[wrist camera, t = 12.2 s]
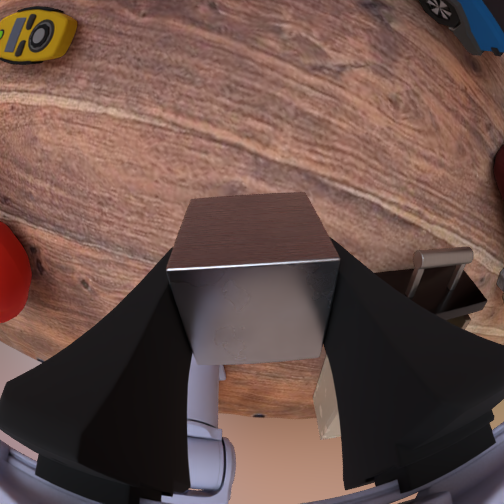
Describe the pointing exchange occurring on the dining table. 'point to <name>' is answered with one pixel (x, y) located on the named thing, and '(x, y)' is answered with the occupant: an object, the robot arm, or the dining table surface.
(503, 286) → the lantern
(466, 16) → the toy car
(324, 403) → the cabinet
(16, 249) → the tomato
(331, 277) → the steel block
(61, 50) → the yellow walkie talkie
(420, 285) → the drawer
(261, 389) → the dining table surface
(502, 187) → the ashtray
